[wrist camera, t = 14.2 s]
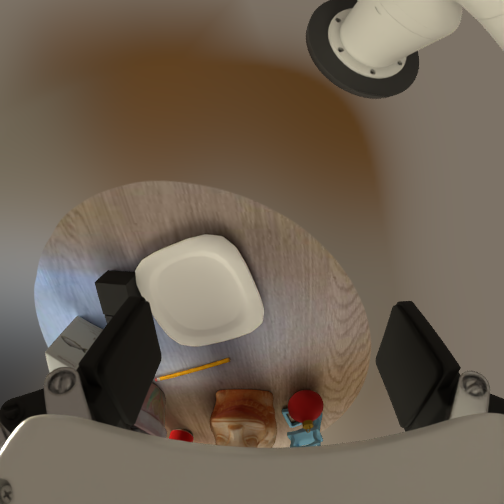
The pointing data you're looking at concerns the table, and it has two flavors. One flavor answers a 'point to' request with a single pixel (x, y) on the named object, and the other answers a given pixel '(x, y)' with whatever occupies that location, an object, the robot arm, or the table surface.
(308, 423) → the christmas ornament
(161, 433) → the potted plant
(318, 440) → the chair
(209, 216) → the table surface
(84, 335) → the white packaging box
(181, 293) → the plate
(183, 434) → the beverage can
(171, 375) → the pencil
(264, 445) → the ceramic vessel
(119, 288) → the black rectangular block
